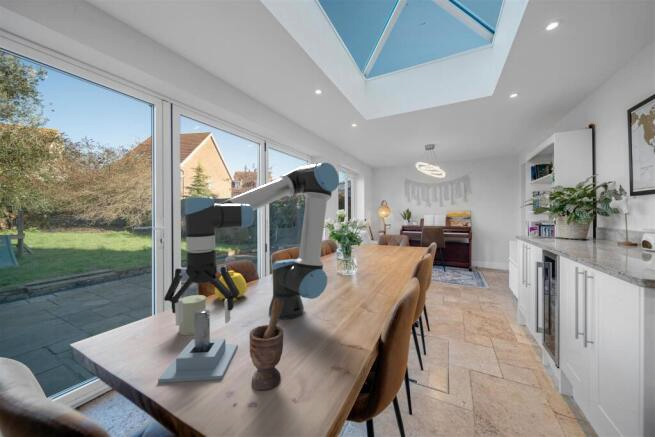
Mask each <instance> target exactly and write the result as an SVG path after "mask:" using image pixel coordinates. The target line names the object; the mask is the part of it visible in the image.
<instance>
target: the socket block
mask: <svg viewBox="0 0 655 437" xmlns="http://www.w3.org/2000/svg"><path fill="white" fill-rule="evenodd" d="M238 347H239V343H226V338H225V337H222V338H210V351H209V352H202V353H195V339H191V340H190V342H189V343H188V344H187V345H186V346H185V348H183V350H182V351H181V352H180V353H179V355H177V357H176V358H175V359H174V360H173V361H172V362H171V364H169V366H168V367H167V368H166V369H165V371H164V372H163V373H162V374H161V375H160V376H159V378H158V379H157V383H158V384H163V383H164V384H165V383H179V382H180V383H181V382H182V383H183V382H198V381H201V382H202V381H215V380H217V381H218V380H223V378H224V376H225V374H226V372H227V370H228V368H229V367H230V365H231V362H232V360H233V358H234V356H235V353H236V351H237V350H238Z"/></svg>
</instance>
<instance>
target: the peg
mask: <svg viewBox="0 0 655 437" xmlns="http://www.w3.org/2000/svg"><path fill="white" fill-rule="evenodd" d="M210 313H211V312H210V310H209V309H207V308H206V309H203V310H198V311H196V312H195V313H194V334H193V335H194V340H195V353H202V352H209V351H210V339H211V335H210V334H211V333H210V331H211V330H210V326H211V325H210V322H211V321H210V319H211V318H210V317H211V316H210V315H211V314H210Z"/></svg>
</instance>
